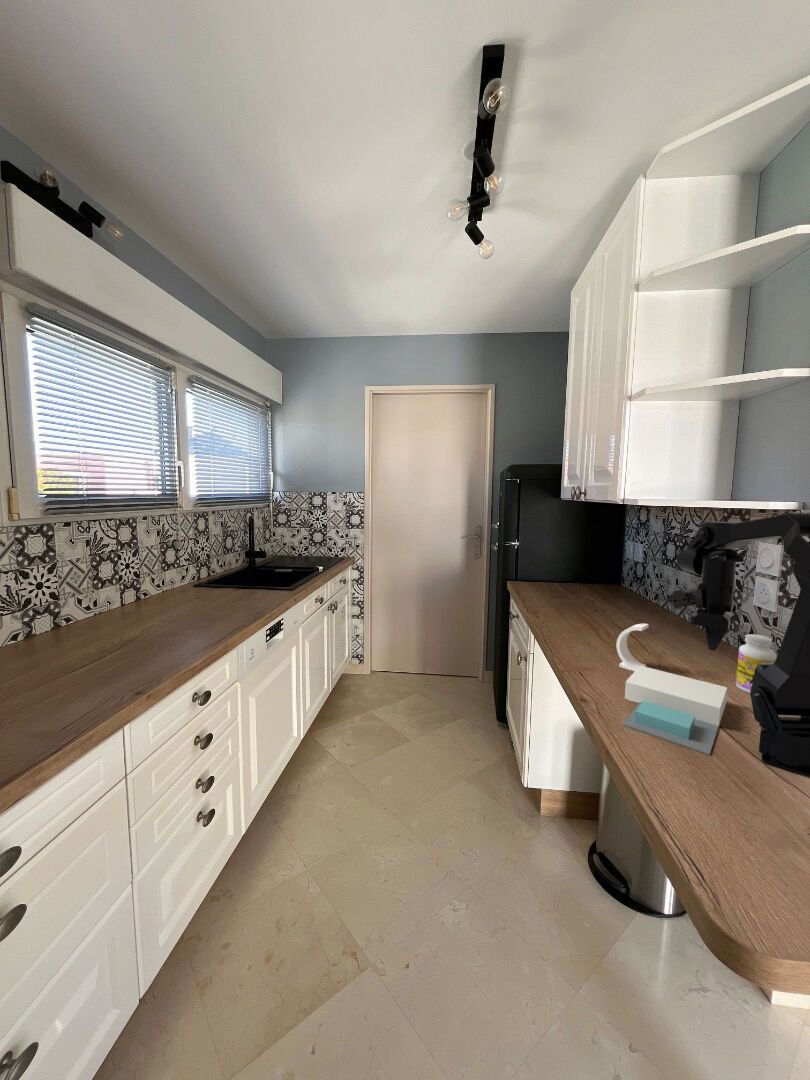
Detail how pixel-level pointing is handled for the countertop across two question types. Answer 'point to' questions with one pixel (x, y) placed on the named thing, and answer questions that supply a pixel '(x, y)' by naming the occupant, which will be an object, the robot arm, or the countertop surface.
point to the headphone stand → (622, 648)
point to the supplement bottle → (753, 659)
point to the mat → (698, 739)
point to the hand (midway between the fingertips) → (712, 649)
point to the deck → (677, 693)
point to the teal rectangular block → (665, 719)
